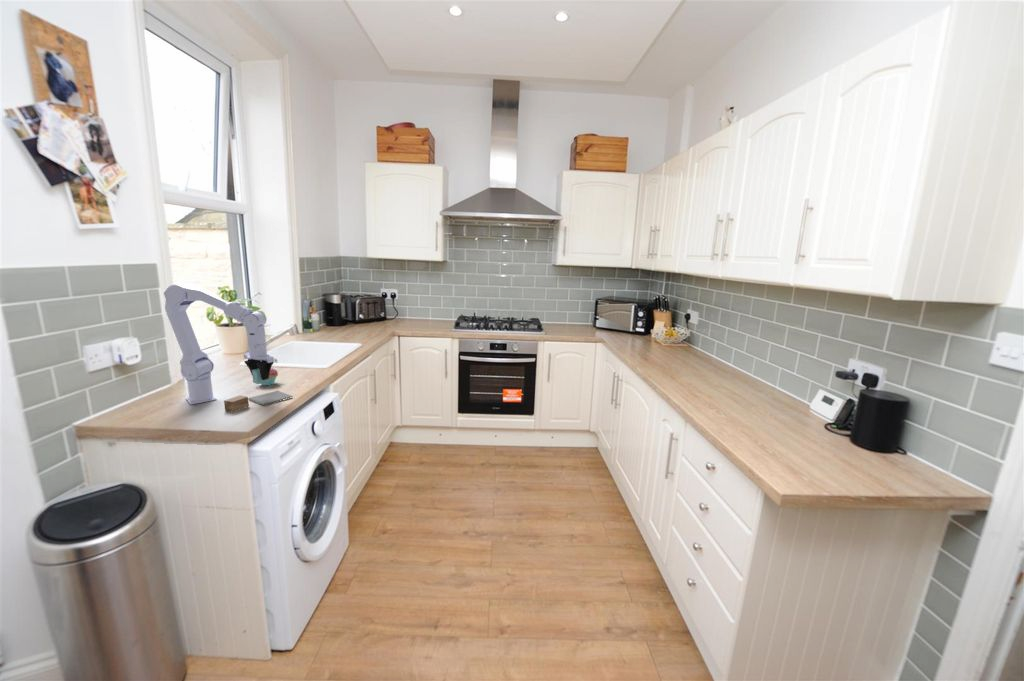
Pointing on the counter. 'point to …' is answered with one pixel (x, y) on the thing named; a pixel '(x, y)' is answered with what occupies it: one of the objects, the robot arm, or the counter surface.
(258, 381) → the teal block
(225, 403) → the walnut block
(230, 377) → the counter surface
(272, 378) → the cupcake
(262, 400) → the slate coaster
